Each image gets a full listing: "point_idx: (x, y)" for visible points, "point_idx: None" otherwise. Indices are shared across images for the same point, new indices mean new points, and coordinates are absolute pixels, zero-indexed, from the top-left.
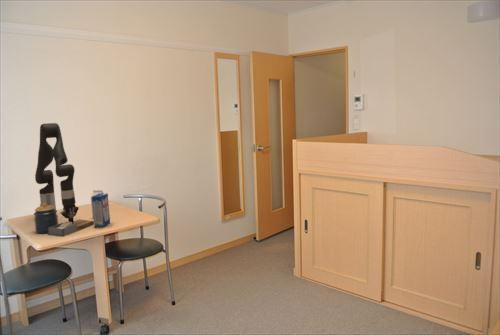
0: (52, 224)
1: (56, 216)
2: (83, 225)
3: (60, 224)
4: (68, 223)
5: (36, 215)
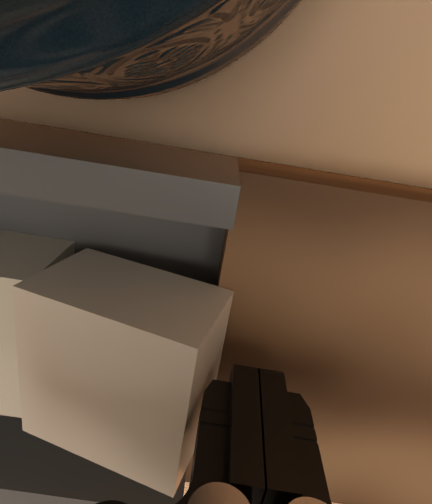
0: None
1: (74, 22)
2: None
3: (140, 208)
4: (114, 448)
5: None
